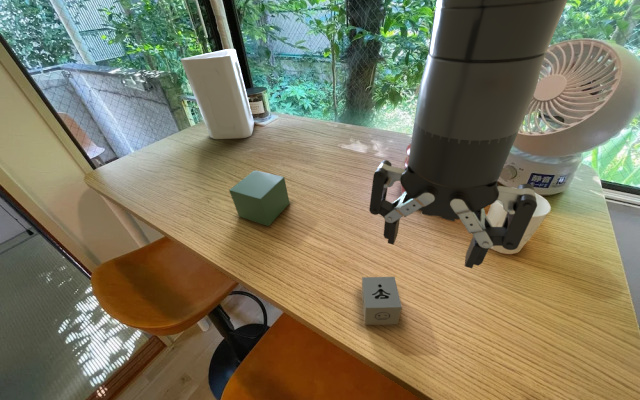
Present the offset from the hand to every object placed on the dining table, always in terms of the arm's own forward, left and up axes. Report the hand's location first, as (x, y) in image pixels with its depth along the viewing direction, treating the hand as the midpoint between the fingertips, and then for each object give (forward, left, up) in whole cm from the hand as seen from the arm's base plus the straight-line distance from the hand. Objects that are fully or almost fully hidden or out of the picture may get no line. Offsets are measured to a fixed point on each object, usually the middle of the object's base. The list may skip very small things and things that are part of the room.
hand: (428, 250), depth 30 cm
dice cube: (-1, +5, -15) cm, 16 cm away
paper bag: (+48, +79, -15) cm, 93 cm away
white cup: (+22, -12, -15) cm, 29 cm away
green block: (+12, +38, -15) cm, 42 cm away
